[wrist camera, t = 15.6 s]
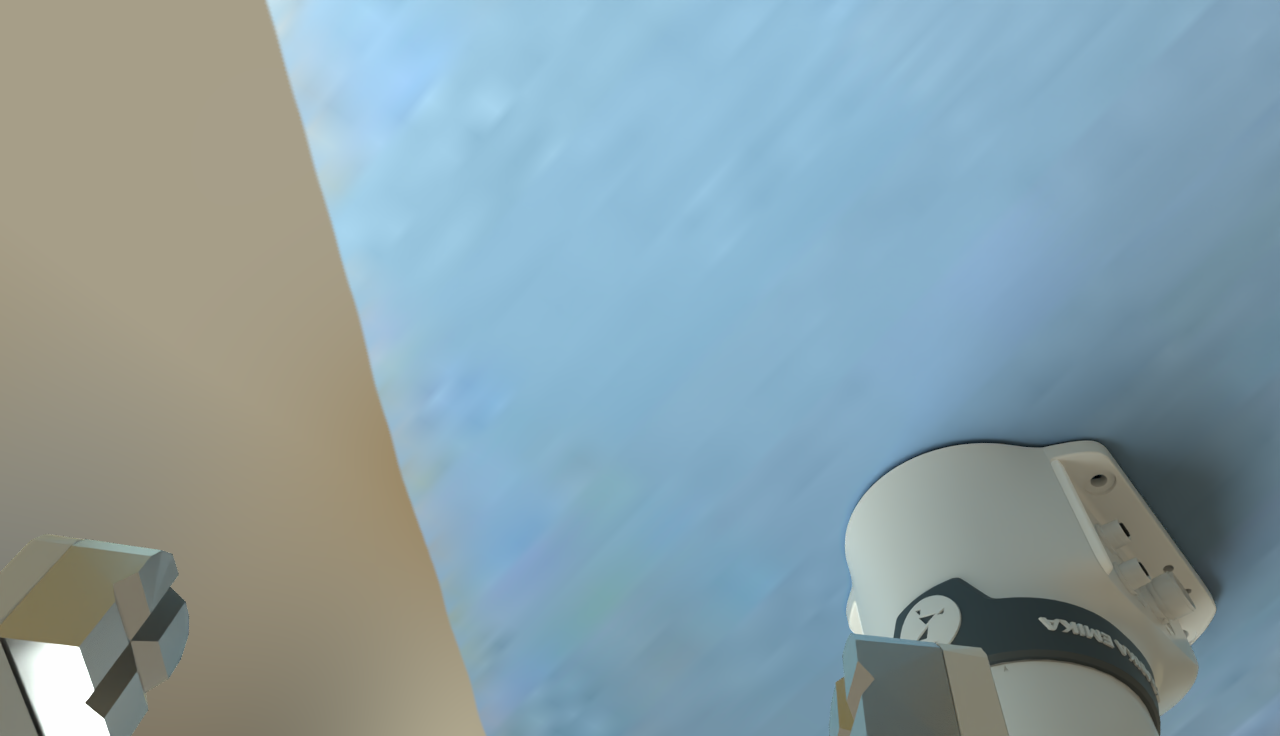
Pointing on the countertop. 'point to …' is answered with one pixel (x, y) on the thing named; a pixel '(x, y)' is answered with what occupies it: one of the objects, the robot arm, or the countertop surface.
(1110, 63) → the countertop surface
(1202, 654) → the countertop surface
